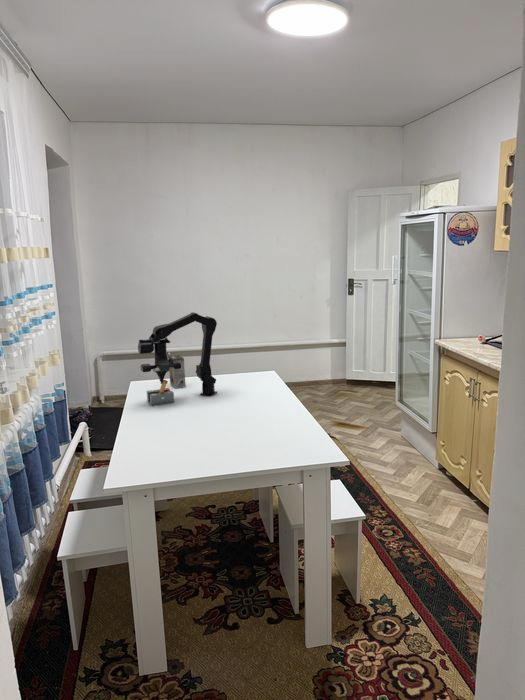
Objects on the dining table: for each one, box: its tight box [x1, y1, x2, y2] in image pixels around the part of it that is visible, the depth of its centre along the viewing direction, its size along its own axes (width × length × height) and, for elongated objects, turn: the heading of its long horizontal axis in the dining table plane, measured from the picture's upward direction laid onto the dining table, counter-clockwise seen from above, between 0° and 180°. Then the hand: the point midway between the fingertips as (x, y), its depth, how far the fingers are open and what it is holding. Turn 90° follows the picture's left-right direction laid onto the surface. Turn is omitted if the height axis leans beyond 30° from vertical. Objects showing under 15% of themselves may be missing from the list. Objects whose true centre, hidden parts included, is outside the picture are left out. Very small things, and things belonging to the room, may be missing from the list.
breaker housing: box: [146, 387, 175, 407], centre depth 257 cm, size 11×10×5 cm
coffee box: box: [167, 354, 186, 389], centre depth 283 cm, size 9×6×16 cm
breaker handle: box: [159, 379, 169, 393], centre depth 257 cm, size 2×2×8 cm
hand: (161, 383), depth 256 cm, fingers closed
